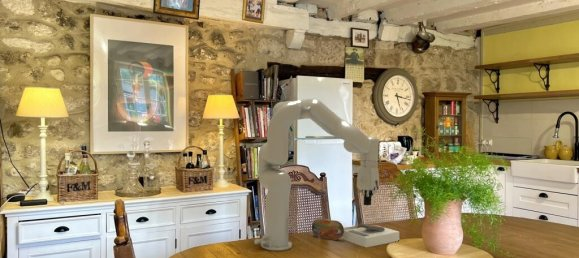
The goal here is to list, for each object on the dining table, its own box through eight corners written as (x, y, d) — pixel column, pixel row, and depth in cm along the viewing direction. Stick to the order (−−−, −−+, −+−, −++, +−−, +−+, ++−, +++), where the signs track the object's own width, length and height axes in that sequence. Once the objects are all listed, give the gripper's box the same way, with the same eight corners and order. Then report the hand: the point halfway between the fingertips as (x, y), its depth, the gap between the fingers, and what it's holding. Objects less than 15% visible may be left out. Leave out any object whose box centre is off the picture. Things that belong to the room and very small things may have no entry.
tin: (311, 236, 193) (311, 217, 193) (314, 234, 195) (315, 216, 195) (341, 242, 184) (341, 222, 184) (344, 240, 187) (345, 221, 187)
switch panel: (366, 247, 176) (366, 236, 176) (343, 239, 188) (343, 229, 188) (399, 240, 188) (399, 230, 188) (375, 233, 199) (376, 223, 199)
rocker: (368, 229, 182) (368, 225, 183) (358, 226, 187) (359, 223, 187) (384, 230, 188) (384, 227, 188) (374, 227, 193) (374, 224, 193)
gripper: (351, 162, 197) (350, 202, 197) (374, 166, 185) (372, 208, 185) (363, 162, 201) (362, 201, 201) (387, 165, 189) (385, 207, 189)
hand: (367, 204), depth 193 cm, fingers closed
